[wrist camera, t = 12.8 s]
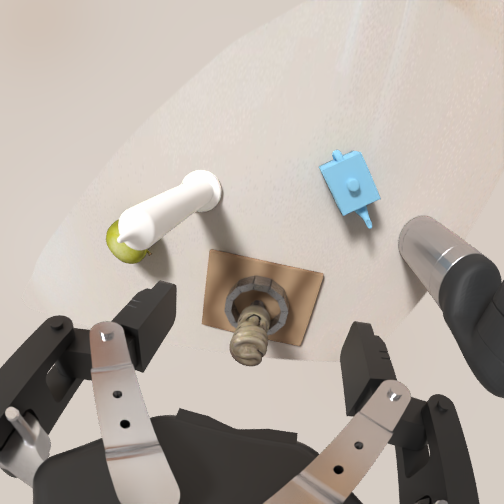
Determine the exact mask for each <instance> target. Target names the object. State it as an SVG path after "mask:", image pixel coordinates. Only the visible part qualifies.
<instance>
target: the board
mask: <svg viewBox="0 0 504 504" xmlns="http://www.w3.org/2000/svg"><path fill="white" fill-rule="evenodd" d="M254 275H255V277H256V275H258V276H262V277H267V278H271V280H272V279H273V280H274V281H275V282H277V283H278V284H279V285H280V286H281V287H283V288H284V289H285V292H286V295H287V298H288V301H289V310H288V315H287V319H286V322H285V324H284V326H283V327H282V328H280V329H279V330H278V331H277V332H275V333H273V334H271V335H268V340H272V341H277V342H282V343H287V344H292V345H297V346H300V345H301V342H302V339H303V336H304V334H305V331H306V328H307V325H308V322H309V319H310V316H311V313H312V310H313V307H314V304H315V301H316V298H317V295H318V292H319V289H320V286H321V282H322V279H323V273H319V272H314V271H309V270H305V269H300V268H295V267H291V266H286V265H282V264H277V263H272V262H268V261H263V260H259V259H254V258H249V257H245V256H240V255H236V254H231V253H226V252H222V251H217V250H213V249H211V250H210V252H209V261H208V269H207V278H206V287H205V297H204V307H203V317H202V324H204V325H208V326H211V327H215V328H219V329H223V330H228V331H232V332H235V330H236V328H235V327H233V326H232V325H231V324H230V322H229V320H228V318H227V316H226V314H225V311H224V310H225V303H226V298H227V295H228V293H229V291H230V289H231V288H232V287H233V286H234V285H235V284H236V283H237V282H238V281H239V280H240V279H242V278H246V277H250V276H254ZM255 300H260V301H262V302H263V303H264V305H265V309H266V311H267V312H268V313H269V316H270V320H272V319H273V318H274V317H275V316H276V315H278V314H279V313H280V307H279V304H278V302H277V300H276V299H274V298H273V297H272V296H271V295H269V294H268V293H266V292H262V291H257V290H250V291H246V292H242V293H240V294H239V295H238V296H237V297H236V298H235V302H234V303H235V305H236V307H237V310H238V312H239V313H240V314H241V313H242V311H243V310H244V309H245V308H246V307H248V306H250V305H251V303H252V302H254V301H255Z"/></svg>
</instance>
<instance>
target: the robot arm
mask: <svg viewBox="0 0 504 504" xmlns="http://www.w3.org/2000/svg"><path fill="white" fill-rule="evenodd" d="M398 246H399V251H400V254H401V256H402V257H403V259H404V260H405V261H406V263H407V264H408V265H409V267H410V268H411V269H412V270H413V272H414V273H415V274H416V276H417V277H418V278H419V280H420V281H421V282H422V284H423V285H424V286H425V288H426V289H427V290H428V292H429V293H430V295H431V296H432V297H433V298H434V300H435V301H436V303H437V304H438V306H439V307H440V308H441V310H442V311H443V316H444V319H445V321H446V323H447V325H448V327H449V328H450V330H451V332H452V334H453V335H454V338H455V339H456V341H457V343H458V345H459V348H460V350H461V352H462V354H463V356H464V358H465V360H466V361H467V363H468V365H469V367H470V369H471V370H472V372H473V373H474V375H475V377H476V378H477V380H478V381H479V382H480V383H481V384H482V385H483V386H484V388H486V389H487V390H488V391H489V392H490V393H492V394H493V395H495V396H498V397H502V398H504V280H503V282H502V283H501V276H500V273H499V270H498V269H497V267H496V265H495V264H494V263H493V262H492V261H491V260H489V259H488V258H487V257H485V256H484V255H483V254H482V253H480V252H479V251H478V250H477V249H475V248H474V247H472V246H471V245H470V244H468V243H467V242H466V241H464V240H463V239H462V238H460V237H459V236H458V235H456V234H455V233H453V232H452V231H451V230H449V229H448V228H446V227H445V226H443V225H442V224H441V223H439V222H438V221H436V220H435V219H433V218H431V217H428V216H418V217H416V218H413V219H412V220H410V221H409V222H408V223H407V224H406V225H405V226H404V228H403V229H402V231H401V234H400V237H399V245H398ZM176 292H177V288H176V285H175V284H172V283H168V282H164V281H159V282H158V283H157V284H156V285H155V286H154V287H153V288H152V289H148V288H147V289H145V290H143V291H140V292H138V293H137V294H136V295H135V296H134V297H133V298H132V300H131V301H130V302H129V303H128V304H127V305H126V306H125V307H124V308H123V309H122V310H121V311H120V312H119V314H118V315H117V316H116V317H115V318H114V319H113V320H112V321H111V322H109V321H106V322H100V323H98V324H96V325H94V326H93V327H92V328H91V330H86V329H77V328H74V327H73V323H72V321H71V319H70V318H68V317H66V316H60V315H59V316H53V317H51V318H48V319H47V320H46V321H45V322H44V323H43V324H42V325H41V326H40V327H39V328H38V329H37V330H36V331H35V332H34V333H33V334H32V335H31V336H30V337H29V338H28V339H27V340H26V341H25V342H24V343H23V344H22V345H21V347H19V348H18V349H17V351H16V352H15V353H14V354H13V355H12V356H11V357H10V358H9V359H8V360H7V361H6V363H5V364H4V365H3V366H2V367H1V368H0V468H1V469H2V470H3V471H4V472H5V473H7V474H8V475H9V476H11V477H15V478H19V479H20V480H22V481H23V482H24V483H26V484H27V485H29V486H30V487H32V488H33V504H363V503H362V502H361V501H360V500H359V499H358V498H357V497H356V496H355V495H354V493H352V491H353V490H354V489H355V487H356V486H357V485H358V484H359V482H360V481H361V480H362V478H363V477H364V476H365V474H366V473H367V472H368V470H369V469H370V467H371V466H372V465H373V463H374V462H375V461H376V459H377V458H378V456H379V455H380V453H381V452H382V450H383V449H384V447H385V446H386V444H387V443H388V444H392V445H395V450H396V458H397V470H398V482H399V499H400V504H479V498H478V493H477V487H476V482H475V478H474V473H473V468H472V464H471V460H470V456H469V452H468V448H467V445H466V441H465V437H464V434H463V431H462V428H461V424H460V421H459V418H458V415H457V412H456V409H455V406H454V404H453V402H452V401H451V400H450V399H449V398H447V397H446V396H444V395H440V394H436V395H433V396H431V397H430V398H429V400H428V401H427V402H426V401H422V400H419V399H416V398H413V397H411V393H410V391H409V389H408V388H407V387H406V386H405V385H404V384H402V383H401V382H398V381H397V379H396V375H395V372H394V369H393V366H392V363H391V360H390V357H389V354H388V351H387V348H386V345H385V343H384V342H383V340H382V339H381V338H380V337H379V336H376V335H374V332H373V329H372V326H371V324H369V323H363V322H356V321H354V322H353V324H352V326H351V328H350V331H349V333H348V335H347V338H346V340H345V342H344V345H343V347H342V350H341V355H340V363H341V370H342V378H343V386H344V395H345V405H346V415H347V416H354V417H353V419H352V420H351V421H350V422H349V423H348V424H347V426H346V427H345V428H344V429H343V430H342V431H341V432H340V433H339V435H337V437H336V438H335V439H334V440H333V441H332V442H331V443H330V444H329V445H328V446H327V447H326V449H324V450H323V451H322V452H321V453H320V454H318V452H316V451H315V450H313V449H312V448H310V447H309V446H307V445H305V444H303V443H301V442H298V441H297V433H293V432H286V431H279V430H272V429H245V430H244V429H243V430H242V429H241V430H240V429H235V428H232V427H230V426H228V425H226V424H223V423H221V422H219V421H217V420H215V419H213V418H211V417H209V416H206V415H202V414H198V413H194V412H191V411H187V410H184V409H181V408H180V409H179V411H178V413H177V415H176V416H174V415H164V416H156V417H152V418H149V415H148V412H147V409H146V406H145V403H144V400H143V397H142V393H141V390H140V387H139V384H138V380H137V377H136V373H135V370H137V371H140V372H144V371H145V369H146V367H147V366H148V364H149V363H150V361H151V359H152V357H153V356H154V354H155V353H156V351H157V350H158V348H159V346H160V345H161V343H162V342H163V340H164V338H165V337H166V335H167V334H168V332H169V331H170V329H171V327H172V326H173V324H174V321H175V317H176ZM54 363H55V365H54ZM53 365H54V366H53ZM52 366H53V367H52ZM51 367H52V369H51V370H50V368H51ZM49 370H50V371H49ZM48 371H49V372H48ZM47 373H48V374H47ZM84 379H86V380H92V383H93V390H94V397H95V403H96V409H97V414H98V420H99V424H100V429H101V434H102V438H101V439H98V440H96V441H93V442H90V443H88V444H85V445H83V446H80V447H77V448H74V449H72V450H69V451H66V452H63V453H60V454H57V455H54V456H52V457H49V451H50V447H51V442H50V438H49V436H48V435H49V433H50V431H51V430H52V428H53V427H54V425H55V423H56V422H57V420H58V418H59V417H60V415H61V414H62V412H63V410H64V409H65V407H66V406H67V404H68V403H69V401H70V399H71V398H72V397H73V395H74V393H75V392H76V390H77V389H78V387H79V386H80V384H81V383H82V381H83V380H84ZM427 444H428V445H429V449H430V456H429V451H428V445H427ZM48 457H49V458H48Z"/></svg>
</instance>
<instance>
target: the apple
mask: <svg viewBox="0 0 504 504" xmlns="http://www.w3.org/2000/svg"><path fill="white" fill-rule="evenodd" d="M118 223H119V220H117V221H115V222H114V223H113V224H112V225H111V226H110V227H109V229H108V231H107V235H106V242H107V245H108V247H109V249H110V251H111V252H112V253H113V254H114V255H115V256H116V257H117V258H118V259H119V260H121V261H122V262H125V263H129V264H135V263H138V262H140V261H141V260H142V259H143V258H144V257H145V255H146V253H148V254H149V256H150V255H151V254H152V253H150V252H149V251H148V249H145V250H135V249H132V248H130V247H129V246H127V245H126V244H125V243H124V242H123V243H118V242H117V238H118V237H119V236H120V234H119V229H118Z"/></svg>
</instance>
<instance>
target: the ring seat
mask: <svg viewBox="0 0 504 504" xmlns="http://www.w3.org/2000/svg"><path fill="white" fill-rule="evenodd" d="M250 290H257V291H262V292H266V293H268V294H269V295H271V296H272V297H273V298H274V299H276V300H277V302H278V304H279V307H280V313H279V314H278V315H276V316H275V317H274V318H273V319H272V320H270V326H269V330H268V332H267V335H271V334H273V333H275V332H277V331H278V330H279V329H280V328H282V327H283V326H284V324H285V322H286V319H287V315H288V310H289V301H288V298H287V295H286V292H285V289H284V288H283V287H281V286H280V285H279V284H278V283H277V282H275V281H274V280H273V279H272V280H271V278H267V277H262V276H258V275H256V277H255V275H254V276H250V277H246V278H242V279H240V280H239V281H238V282H237V283H236V284H235V285H234V286H233V287H232V288H231V289H230V291H229V293H228V295H227V298H226V303H225V310H224V311H225V314H226V316H227V318H228V320H229V322H230V324H231V325H232V326H233V327H235V328H237V327H238V319H239V317H240V313H239V312H238V310H237V307H236V305H235V303H234V302H235V298H236V297H237V296H238V295H239V294H240V293H242V292H246V291H250Z"/></svg>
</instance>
